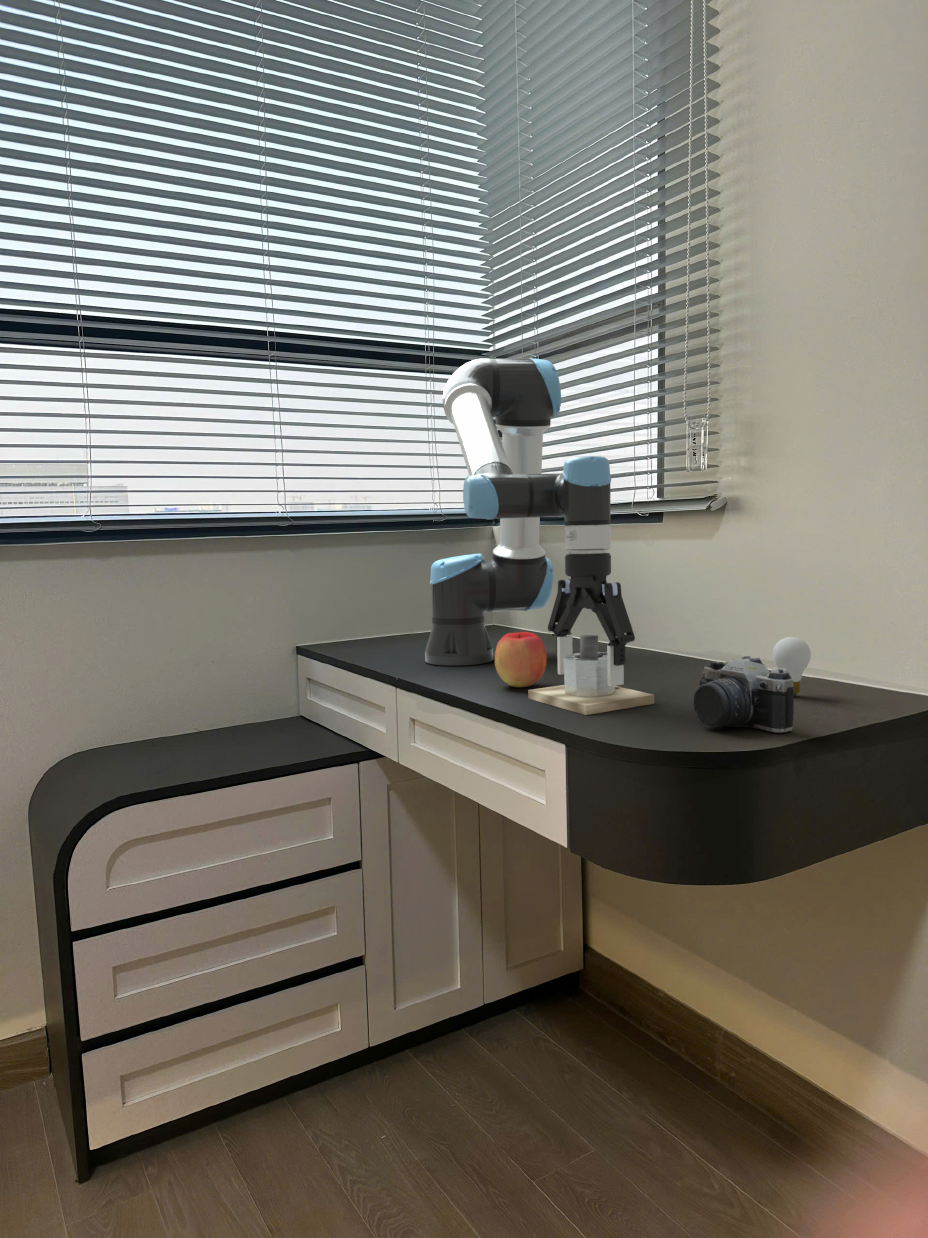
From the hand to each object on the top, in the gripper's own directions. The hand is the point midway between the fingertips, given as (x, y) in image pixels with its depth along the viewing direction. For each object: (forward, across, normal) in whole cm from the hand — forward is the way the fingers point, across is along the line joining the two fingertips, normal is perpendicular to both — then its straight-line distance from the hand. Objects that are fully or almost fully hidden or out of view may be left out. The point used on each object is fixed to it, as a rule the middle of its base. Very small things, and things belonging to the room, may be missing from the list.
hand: (589, 679), depth 144 cm
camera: (+4, +26, +6) cm, 27 cm away
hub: (+2, 0, 0) cm, 2 cm away
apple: (+4, -18, -2) cm, 19 cm away
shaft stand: (+4, 0, 0) cm, 4 cm away
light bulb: (+4, +17, +29) cm, 34 cm away
